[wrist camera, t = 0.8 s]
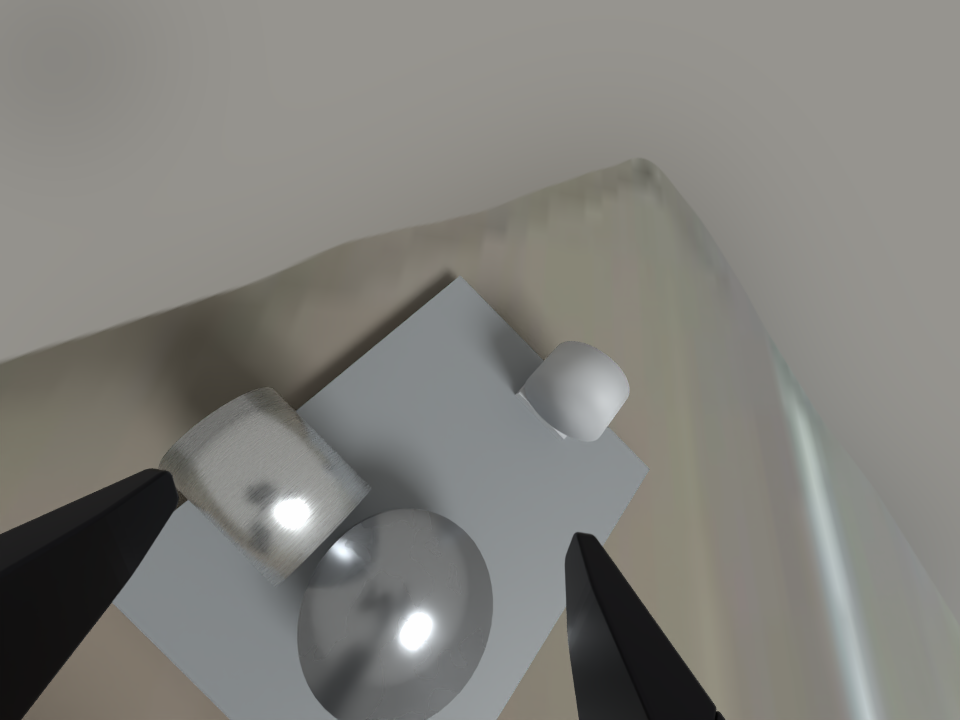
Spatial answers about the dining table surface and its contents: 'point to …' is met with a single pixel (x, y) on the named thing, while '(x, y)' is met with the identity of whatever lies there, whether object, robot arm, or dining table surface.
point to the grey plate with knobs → (414, 504)
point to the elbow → (342, 561)
